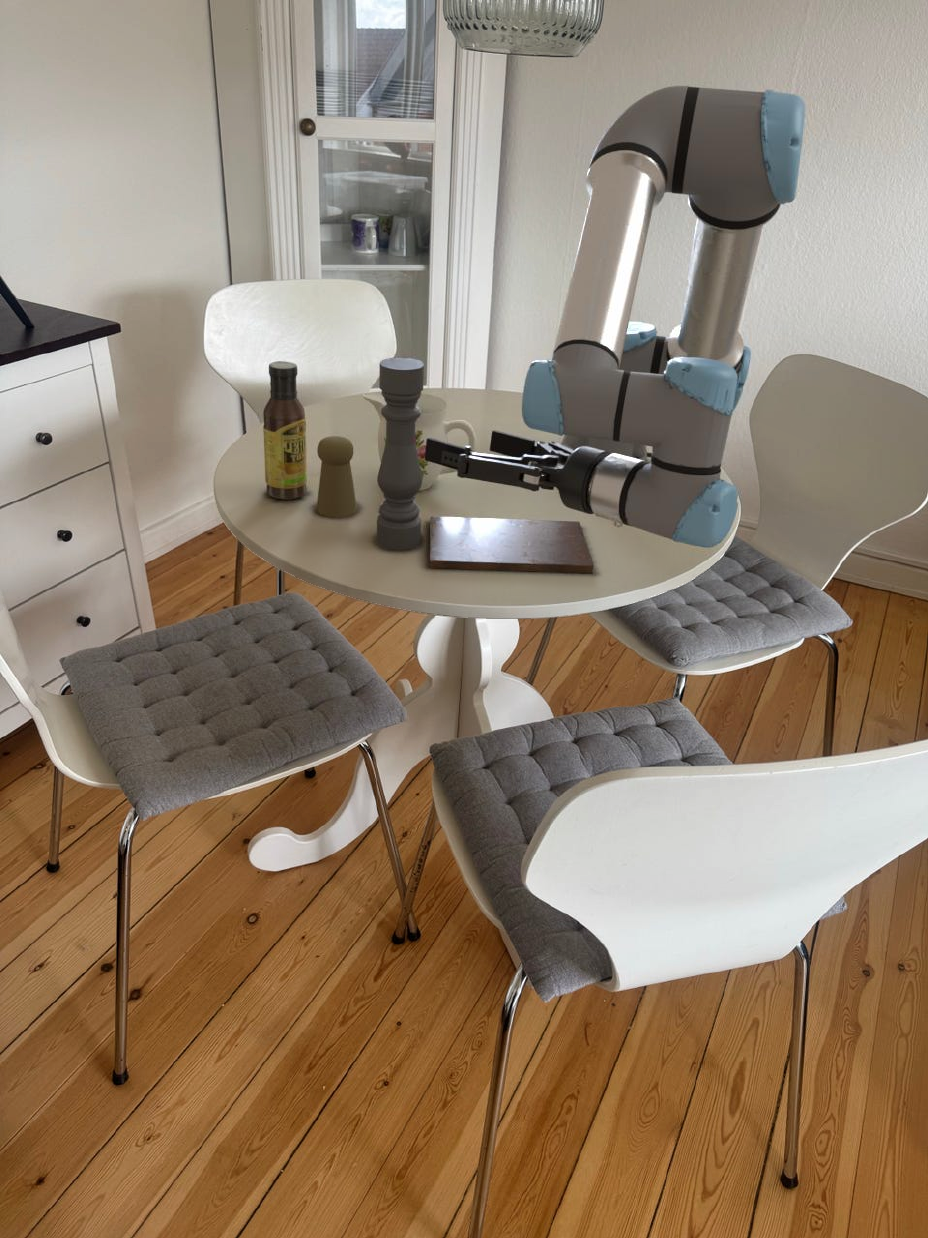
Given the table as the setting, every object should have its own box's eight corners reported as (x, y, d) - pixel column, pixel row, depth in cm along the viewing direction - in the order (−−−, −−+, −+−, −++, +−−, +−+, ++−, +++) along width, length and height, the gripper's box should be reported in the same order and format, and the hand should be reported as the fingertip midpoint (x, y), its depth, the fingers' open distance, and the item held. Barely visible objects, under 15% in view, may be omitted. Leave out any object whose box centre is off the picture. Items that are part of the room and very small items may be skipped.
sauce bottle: (290, 505, 137) (283, 373, 127) (257, 495, 139) (249, 365, 129) (316, 491, 142) (312, 363, 132) (284, 482, 144) (278, 356, 134)
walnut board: (578, 528, 135) (579, 521, 135) (592, 573, 123) (593, 565, 123) (430, 523, 134) (430, 516, 133) (429, 568, 122) (430, 560, 121)
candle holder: (407, 528, 132) (410, 354, 120) (428, 545, 128) (435, 367, 115) (369, 536, 129) (368, 359, 116) (389, 554, 125) (392, 372, 112)
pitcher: (469, 502, 141) (474, 416, 134) (355, 491, 143) (354, 405, 136) (477, 476, 151) (482, 394, 144) (370, 465, 152) (370, 384, 145)
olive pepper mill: (335, 521, 133) (333, 449, 127) (307, 508, 136) (305, 438, 131) (365, 509, 137) (365, 439, 132) (337, 497, 140) (336, 428, 135)
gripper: (539, 531, 98) (393, 483, 110) (646, 501, 117) (512, 463, 129) (550, 463, 96) (399, 421, 107) (657, 443, 114) (520, 410, 126)
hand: (461, 444), depth 118 cm, fingers open, 13 cm apart
